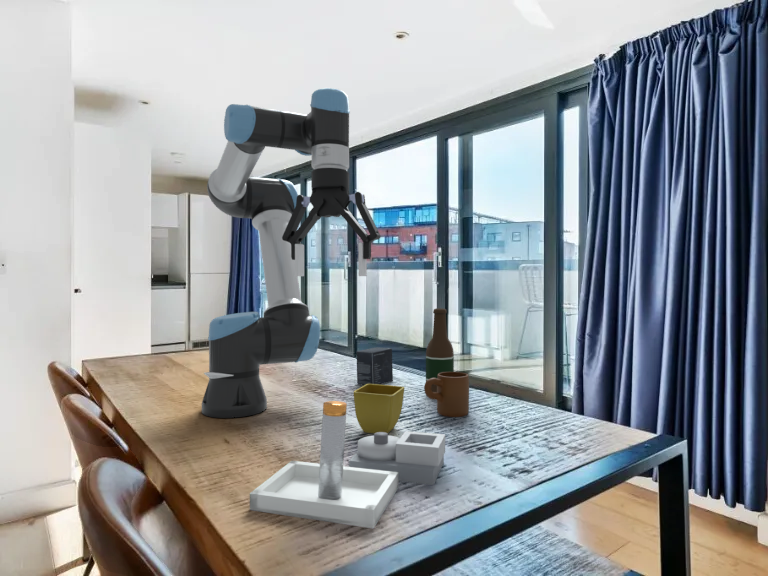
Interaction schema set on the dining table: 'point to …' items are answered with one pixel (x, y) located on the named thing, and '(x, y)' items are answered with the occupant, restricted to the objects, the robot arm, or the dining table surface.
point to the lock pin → (332, 450)
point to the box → (374, 366)
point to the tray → (300, 499)
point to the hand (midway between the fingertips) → (330, 276)
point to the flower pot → (378, 407)
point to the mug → (450, 393)
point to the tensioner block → (403, 455)
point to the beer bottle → (439, 349)
